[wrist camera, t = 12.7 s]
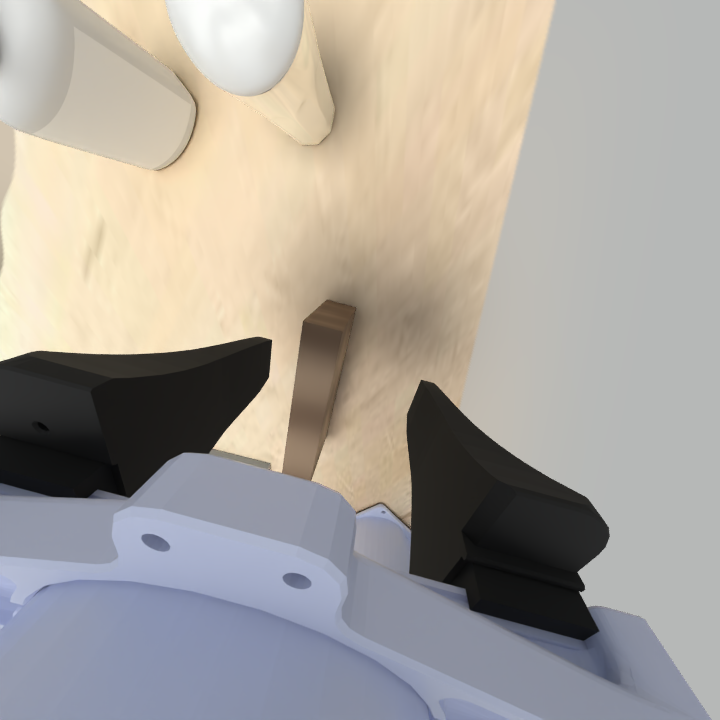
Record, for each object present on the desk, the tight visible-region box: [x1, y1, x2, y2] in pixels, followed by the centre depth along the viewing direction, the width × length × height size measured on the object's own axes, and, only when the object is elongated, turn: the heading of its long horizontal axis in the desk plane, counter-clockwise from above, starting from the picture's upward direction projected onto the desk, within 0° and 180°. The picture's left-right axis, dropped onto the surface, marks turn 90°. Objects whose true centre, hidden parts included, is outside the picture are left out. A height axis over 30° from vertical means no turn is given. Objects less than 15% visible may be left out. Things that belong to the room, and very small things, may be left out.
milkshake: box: [165, 0, 335, 145], centre depth 11 cm, size 4×5×10 cm
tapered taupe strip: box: [282, 300, 356, 481], centre depth 21 cm, size 14×2×6 cm, turn 167°
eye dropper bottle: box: [0, 0, 196, 170], centre depth 11 cm, size 4×6×12 cm
